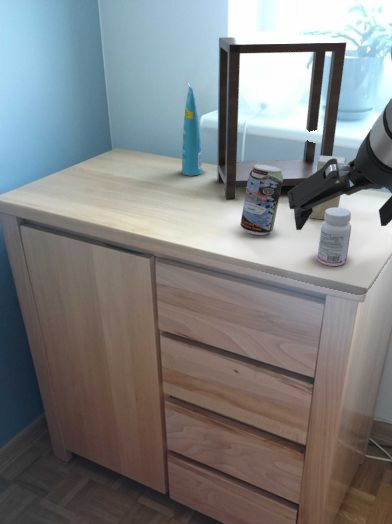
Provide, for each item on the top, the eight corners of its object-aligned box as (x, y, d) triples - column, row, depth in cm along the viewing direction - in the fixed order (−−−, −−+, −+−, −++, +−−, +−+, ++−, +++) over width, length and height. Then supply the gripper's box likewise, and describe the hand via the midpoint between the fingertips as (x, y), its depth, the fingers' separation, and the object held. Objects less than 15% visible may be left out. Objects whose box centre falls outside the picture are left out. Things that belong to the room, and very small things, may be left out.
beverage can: (233, 231, 103) (235, 166, 97) (261, 222, 107) (265, 158, 100) (257, 242, 99) (261, 174, 93) (285, 231, 103) (291, 166, 96)
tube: (179, 169, 137) (177, 83, 126) (199, 168, 138) (198, 82, 127) (185, 178, 131) (183, 89, 120) (205, 176, 132) (205, 88, 121)
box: (309, 218, 109) (315, 160, 103) (312, 210, 112) (318, 154, 106) (336, 221, 107) (345, 162, 101) (339, 213, 111) (347, 156, 105)
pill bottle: (329, 252, 95) (335, 204, 91) (352, 261, 92) (360, 211, 88) (311, 259, 93) (316, 210, 88) (334, 269, 90) (341, 219, 85)
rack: (327, 195, 120) (346, 42, 104) (226, 200, 118) (229, 44, 102) (309, 176, 131) (324, 35, 115) (217, 180, 130) (219, 37, 113)
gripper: (299, 177, 64) (264, 246, 85) (503, 169, 67) (420, 238, 87) (292, 118, 66) (259, 200, 87) (491, 113, 68) (413, 194, 89)
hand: (340, 220), depth 87 cm, fingers open, 13 cm apart
